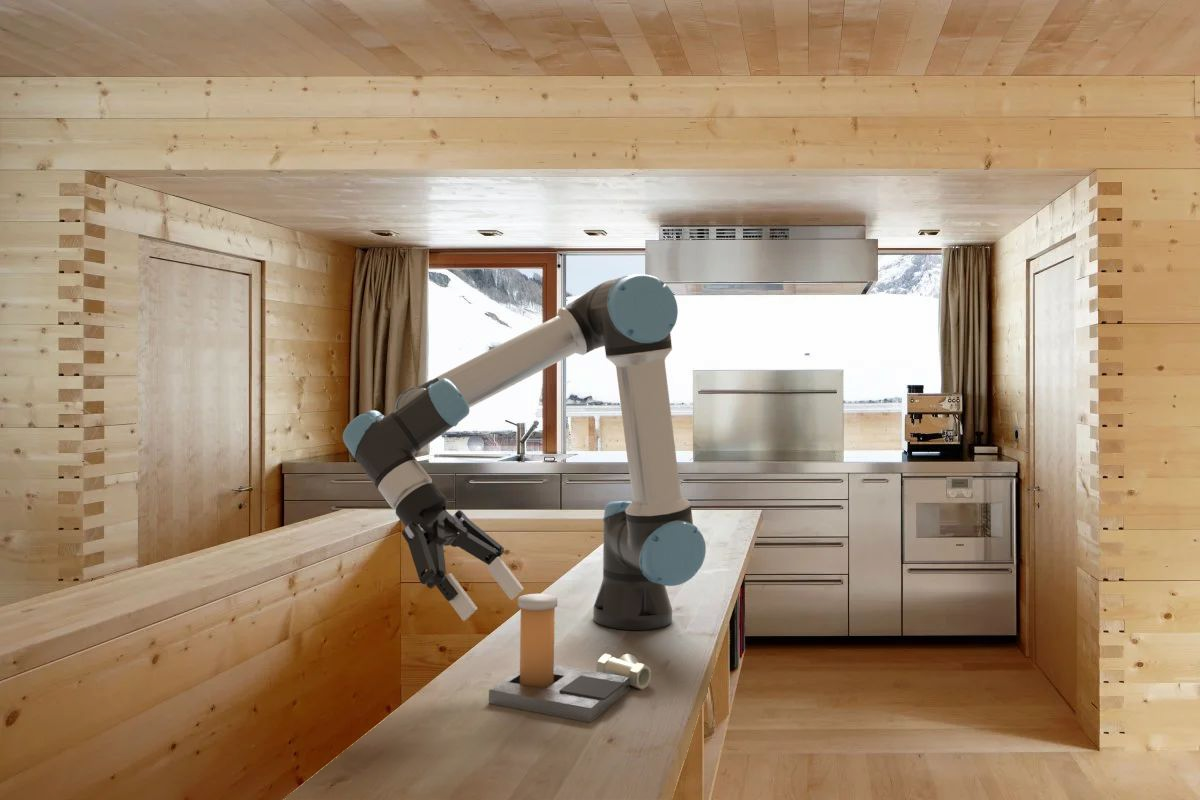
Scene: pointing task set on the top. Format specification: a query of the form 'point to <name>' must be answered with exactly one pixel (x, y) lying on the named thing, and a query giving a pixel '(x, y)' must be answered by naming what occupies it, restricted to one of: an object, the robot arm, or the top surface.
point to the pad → (592, 687)
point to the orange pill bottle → (537, 639)
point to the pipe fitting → (626, 669)
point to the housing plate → (557, 695)
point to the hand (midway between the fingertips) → (495, 604)
